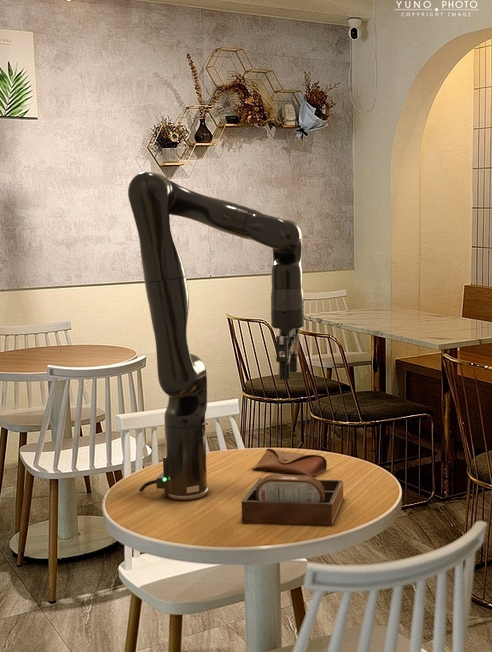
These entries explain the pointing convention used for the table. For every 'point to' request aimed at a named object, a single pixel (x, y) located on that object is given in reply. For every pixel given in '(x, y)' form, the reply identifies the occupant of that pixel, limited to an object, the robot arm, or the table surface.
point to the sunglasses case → (292, 463)
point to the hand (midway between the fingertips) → (288, 375)
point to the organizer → (294, 508)
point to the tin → (290, 489)
